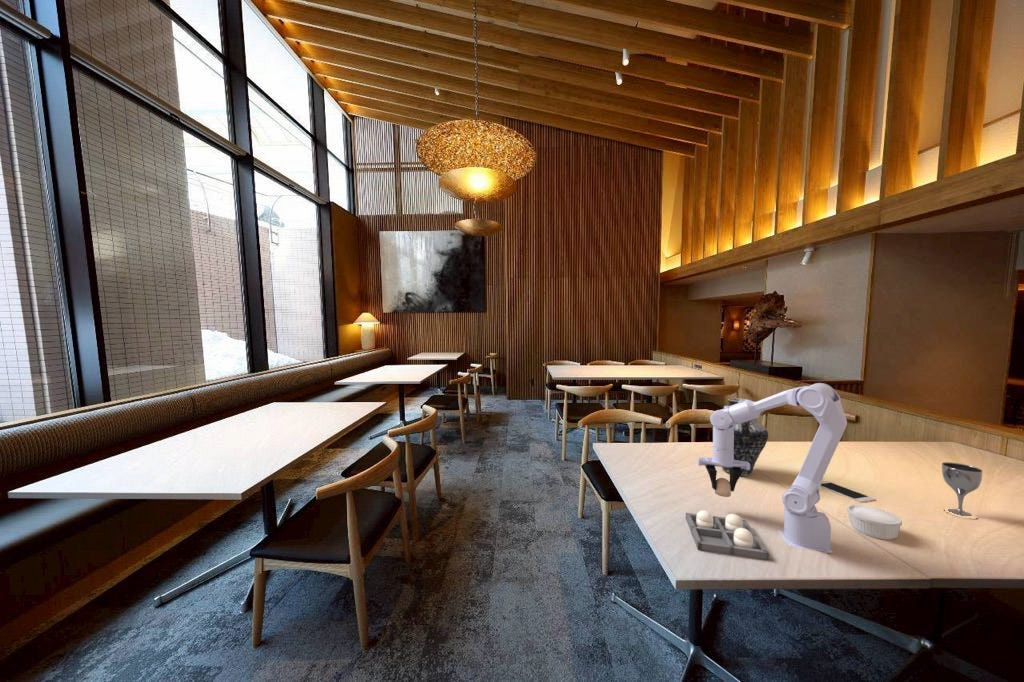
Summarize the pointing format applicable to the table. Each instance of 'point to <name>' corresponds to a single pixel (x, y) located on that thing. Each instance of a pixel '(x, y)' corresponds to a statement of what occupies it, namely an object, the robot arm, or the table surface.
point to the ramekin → (874, 522)
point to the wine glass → (961, 482)
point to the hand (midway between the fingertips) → (722, 489)
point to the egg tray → (724, 539)
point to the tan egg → (723, 487)
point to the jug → (747, 441)
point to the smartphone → (846, 492)
